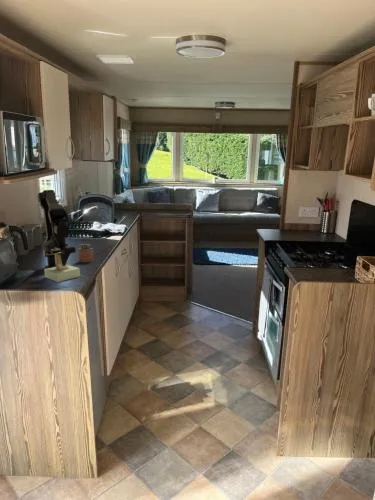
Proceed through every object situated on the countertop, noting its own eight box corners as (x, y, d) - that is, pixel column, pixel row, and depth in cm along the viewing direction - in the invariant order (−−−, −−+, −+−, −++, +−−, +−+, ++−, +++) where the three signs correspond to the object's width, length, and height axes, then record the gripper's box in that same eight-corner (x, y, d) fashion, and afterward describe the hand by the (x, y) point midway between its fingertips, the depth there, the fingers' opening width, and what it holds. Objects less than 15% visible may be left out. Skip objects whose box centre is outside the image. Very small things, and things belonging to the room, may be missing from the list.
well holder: (45, 277, 187) (44, 269, 186) (66, 271, 196) (66, 264, 195) (57, 281, 179) (57, 273, 179) (80, 276, 188) (79, 268, 187)
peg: (56, 273, 187) (54, 253, 185) (63, 271, 190) (62, 251, 188) (60, 274, 185) (58, 254, 182) (68, 273, 187) (66, 253, 185)
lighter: (94, 260, 219) (92, 243, 216) (92, 261, 215) (91, 244, 213) (79, 260, 218) (78, 243, 216) (78, 262, 215) (77, 244, 213)
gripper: (33, 233, 183) (36, 265, 187) (53, 238, 171) (56, 272, 175) (54, 230, 191) (57, 260, 195) (75, 235, 179) (77, 267, 183)
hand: (61, 265), depth 186 cm, fingers closed on peg, 4 cm apart
